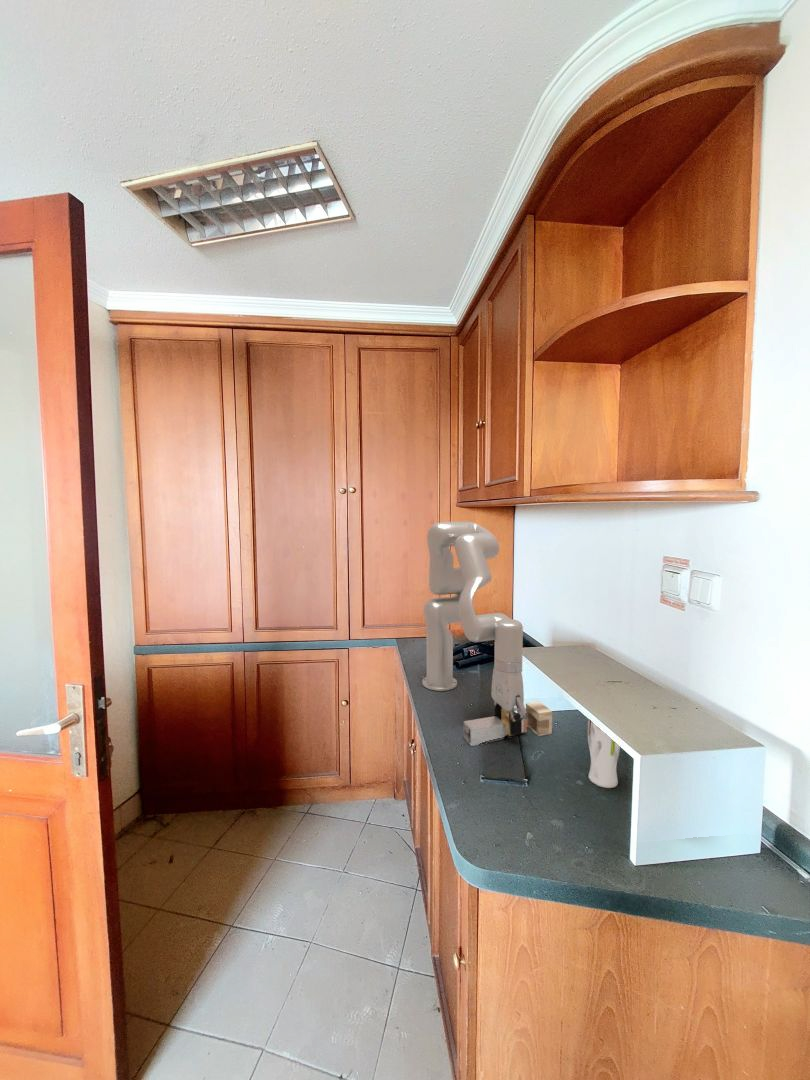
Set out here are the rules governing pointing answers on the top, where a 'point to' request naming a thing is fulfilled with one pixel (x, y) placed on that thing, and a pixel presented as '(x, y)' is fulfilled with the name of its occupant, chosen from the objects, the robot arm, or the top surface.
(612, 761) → the beer glass
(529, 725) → the socket block
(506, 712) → the beige and yellow bar
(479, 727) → the sleeve
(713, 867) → the top surface
